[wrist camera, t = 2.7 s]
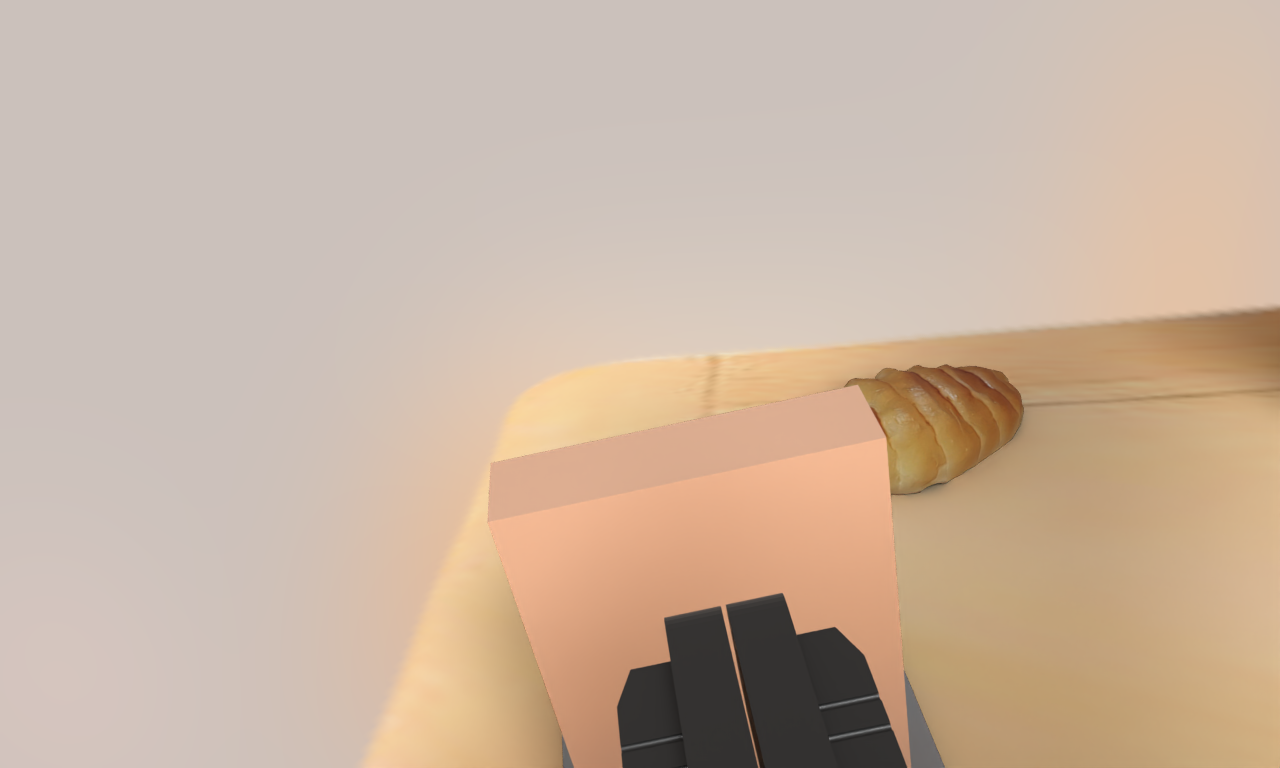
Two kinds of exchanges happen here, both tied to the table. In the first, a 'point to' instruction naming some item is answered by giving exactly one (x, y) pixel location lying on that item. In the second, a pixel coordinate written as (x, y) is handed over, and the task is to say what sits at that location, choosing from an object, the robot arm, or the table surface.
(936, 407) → the pastry
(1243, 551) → the table surface
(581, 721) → the tile
